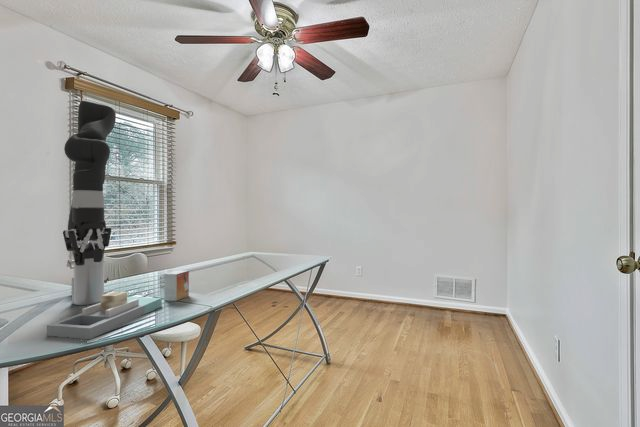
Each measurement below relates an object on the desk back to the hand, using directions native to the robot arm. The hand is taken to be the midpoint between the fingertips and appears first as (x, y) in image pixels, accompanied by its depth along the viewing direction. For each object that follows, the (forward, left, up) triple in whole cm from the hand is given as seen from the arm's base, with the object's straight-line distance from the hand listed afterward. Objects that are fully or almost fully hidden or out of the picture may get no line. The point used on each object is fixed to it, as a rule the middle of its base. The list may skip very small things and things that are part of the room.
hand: (89, 263), depth 90 cm
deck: (0, +8, -19) cm, 21 cm away
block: (0, +9, -16) cm, 19 cm away
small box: (+6, +33, -20) cm, 39 cm away
